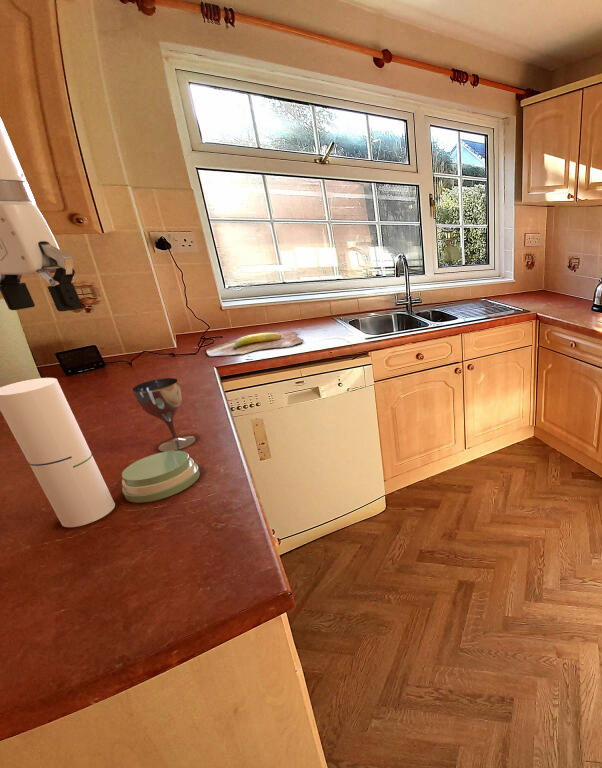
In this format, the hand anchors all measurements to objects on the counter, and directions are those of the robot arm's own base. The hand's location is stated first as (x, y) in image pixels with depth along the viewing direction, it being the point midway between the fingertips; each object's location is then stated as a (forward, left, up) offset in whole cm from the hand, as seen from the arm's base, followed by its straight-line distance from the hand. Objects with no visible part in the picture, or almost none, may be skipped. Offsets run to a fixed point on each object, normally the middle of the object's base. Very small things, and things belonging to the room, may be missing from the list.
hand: (46, 309), depth 69 cm
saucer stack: (+6, +3, -36) cm, 36 cm away
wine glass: (-6, +17, -36) cm, 40 cm away
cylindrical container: (+1, -7, -36) cm, 37 cm away
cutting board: (-48, +92, -36) cm, 110 cm away
